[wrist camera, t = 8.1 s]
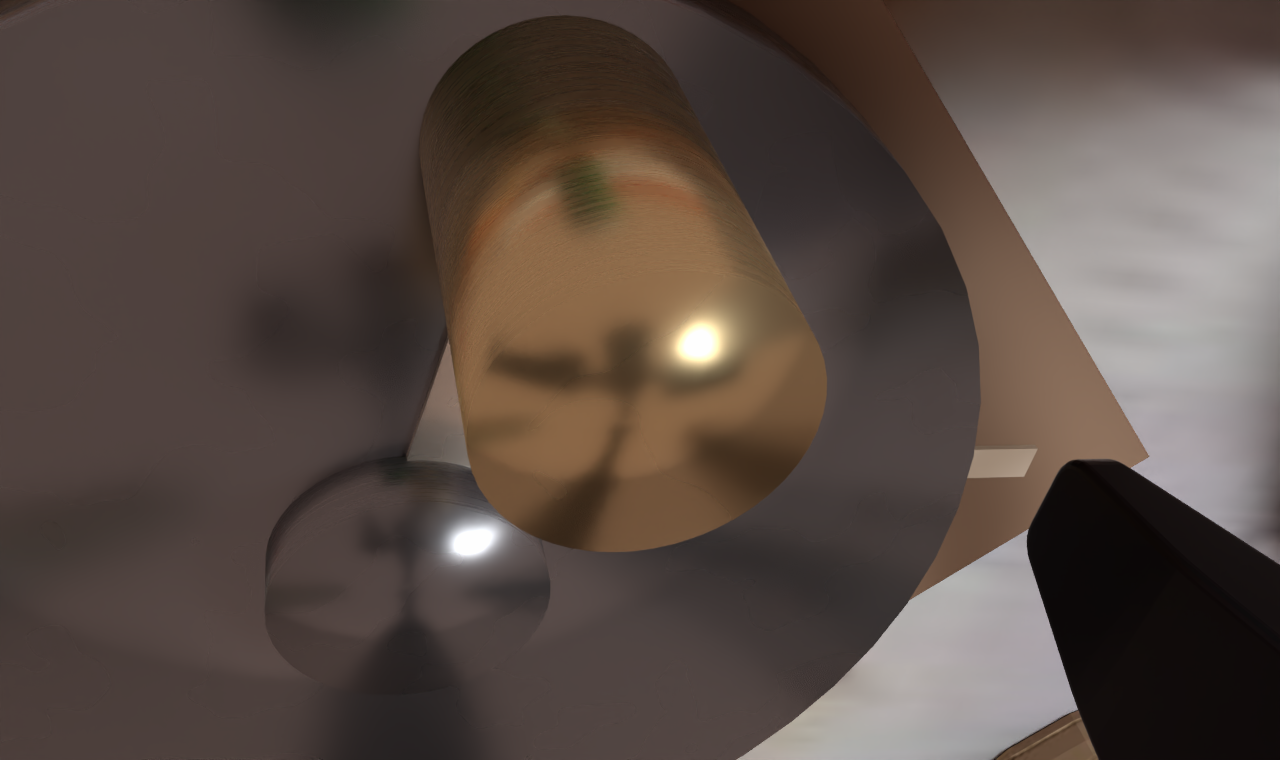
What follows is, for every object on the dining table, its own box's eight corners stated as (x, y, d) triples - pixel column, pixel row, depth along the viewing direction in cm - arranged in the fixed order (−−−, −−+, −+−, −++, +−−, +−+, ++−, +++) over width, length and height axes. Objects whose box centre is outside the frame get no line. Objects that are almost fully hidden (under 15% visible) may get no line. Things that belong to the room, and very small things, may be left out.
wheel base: (359, 808, 30) (365, 929, 28) (-600, 352, 18) (-734, 501, 16) (1073, 359, 26) (1151, 459, 23) (449, -678, 13) (483, -685, 11)
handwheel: (693, 818, 28) (779, 1131, 23) (-260, 806, 21) (-430, 1253, 16) (1158, 116, 18) (1483, 399, 13) (-341, -356, 11) (-849, -125, 6)
